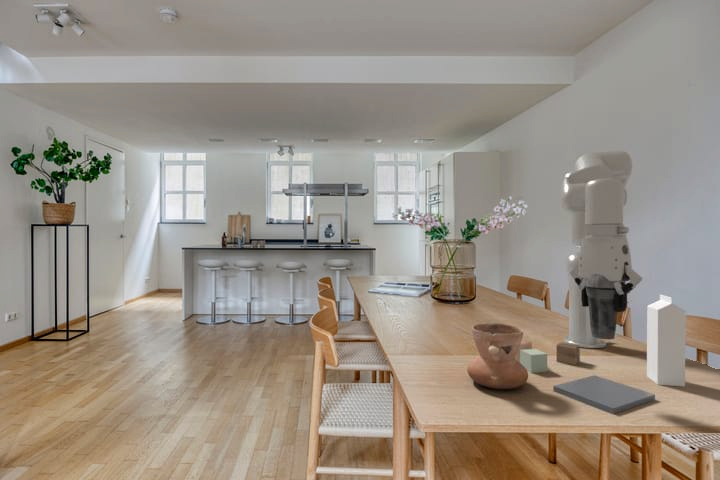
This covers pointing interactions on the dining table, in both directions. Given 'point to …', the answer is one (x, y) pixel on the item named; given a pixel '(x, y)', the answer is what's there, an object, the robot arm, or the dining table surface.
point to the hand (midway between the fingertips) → (603, 308)
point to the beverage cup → (601, 306)
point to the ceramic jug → (497, 356)
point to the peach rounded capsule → (523, 348)
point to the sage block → (533, 360)
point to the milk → (666, 342)
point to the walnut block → (568, 353)
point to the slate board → (604, 394)
